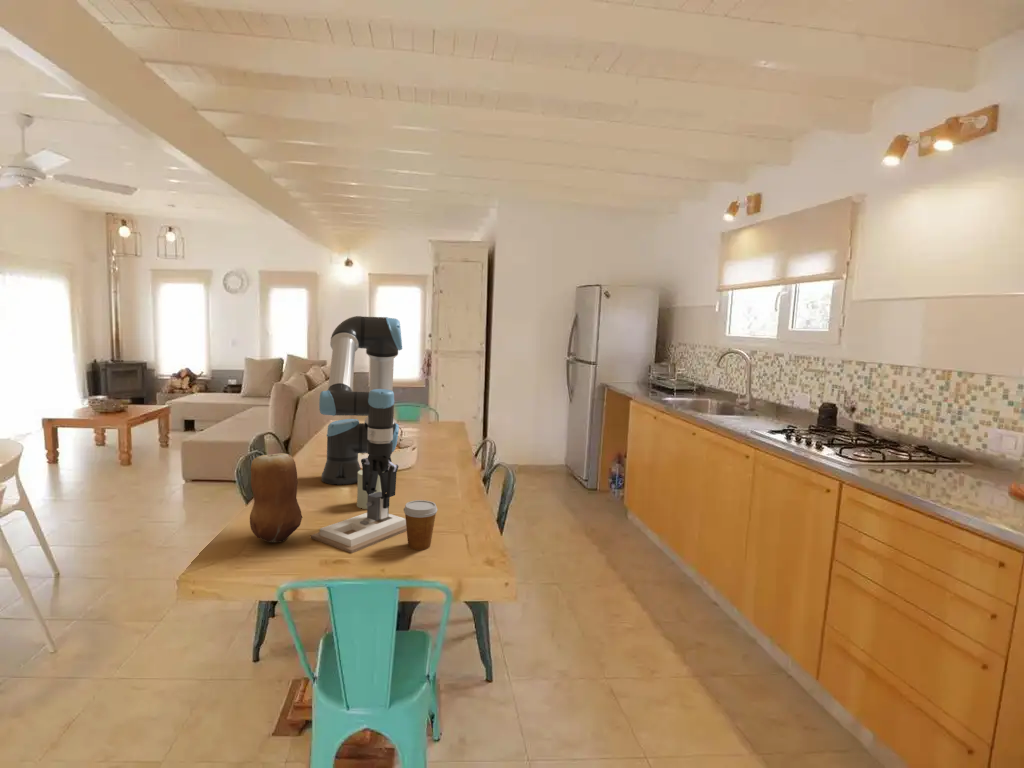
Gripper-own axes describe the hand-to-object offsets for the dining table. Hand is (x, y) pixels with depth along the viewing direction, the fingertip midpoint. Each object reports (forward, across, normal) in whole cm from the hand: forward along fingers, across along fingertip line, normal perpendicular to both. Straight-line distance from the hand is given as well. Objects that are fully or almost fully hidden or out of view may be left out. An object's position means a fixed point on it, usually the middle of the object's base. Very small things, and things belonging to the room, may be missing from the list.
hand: (377, 515), depth 176 cm
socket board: (+4, 0, -6) cm, 7 cm away
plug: (0, 0, 0) cm, 0 cm away
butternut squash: (+4, -14, -26) cm, 29 cm away
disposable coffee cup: (+4, +19, -2) cm, 20 cm away
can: (+4, -17, +14) cm, 22 cm away
